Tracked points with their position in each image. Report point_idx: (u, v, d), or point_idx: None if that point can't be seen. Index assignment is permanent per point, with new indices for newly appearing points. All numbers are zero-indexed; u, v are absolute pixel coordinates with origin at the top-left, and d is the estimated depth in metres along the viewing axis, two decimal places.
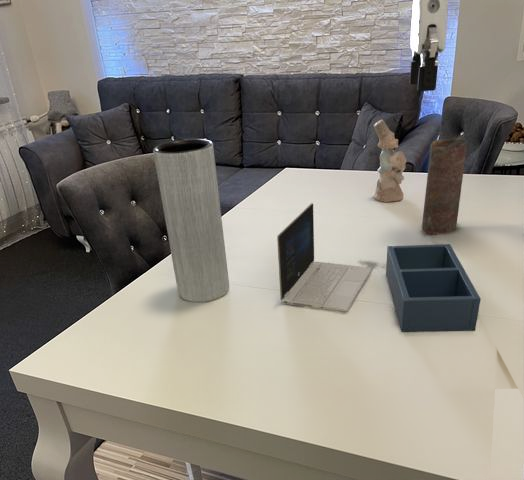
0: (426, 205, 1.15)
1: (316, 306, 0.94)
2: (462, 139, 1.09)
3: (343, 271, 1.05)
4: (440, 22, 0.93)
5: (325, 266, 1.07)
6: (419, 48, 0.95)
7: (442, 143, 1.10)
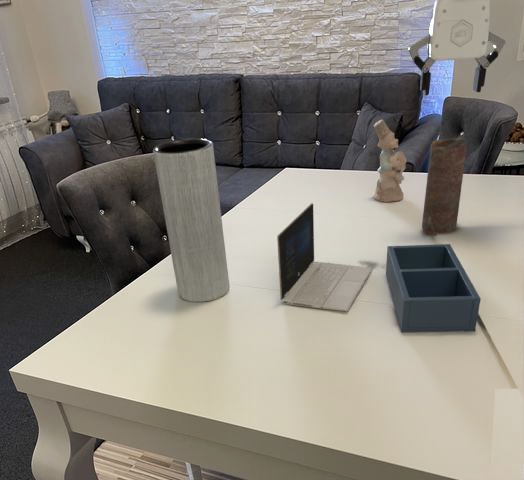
0: (426, 205, 1.15)
1: (316, 306, 0.94)
2: (462, 139, 1.09)
3: (343, 271, 1.05)
4: (431, 31, 0.97)
5: (325, 266, 1.07)
6: None
7: (442, 143, 1.10)
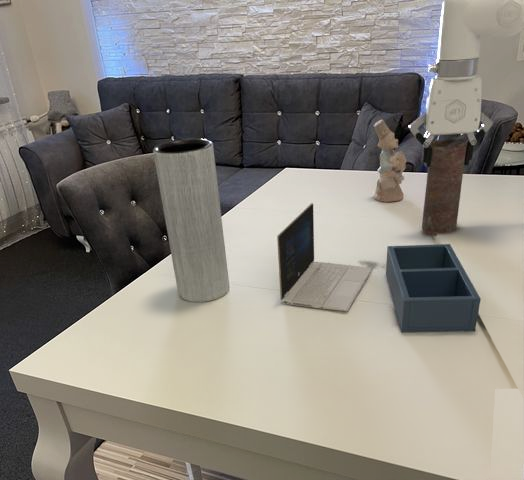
0: (426, 205, 1.15)
1: (316, 306, 0.94)
2: (462, 139, 1.09)
3: (343, 271, 1.05)
4: (427, 108, 1.05)
5: (325, 266, 1.07)
6: None
7: (442, 143, 1.10)
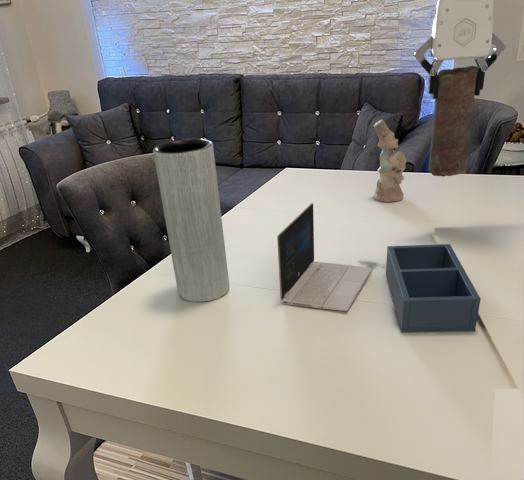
0: (433, 142, 1.07)
1: (316, 306, 0.94)
2: (472, 66, 1.00)
3: (343, 271, 1.05)
4: (434, 30, 0.96)
5: (325, 266, 1.07)
6: None
7: (450, 72, 1.01)
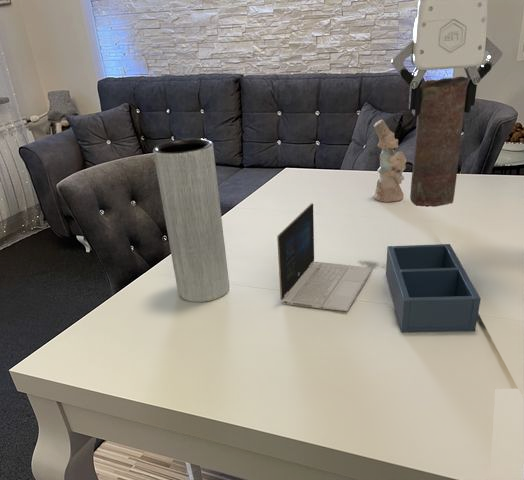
0: (415, 167, 0.89)
1: (316, 306, 0.94)
2: (461, 77, 0.83)
3: (343, 271, 1.05)
4: (415, 33, 0.79)
5: (325, 266, 1.07)
6: (412, 60, 0.83)
7: (435, 83, 0.84)
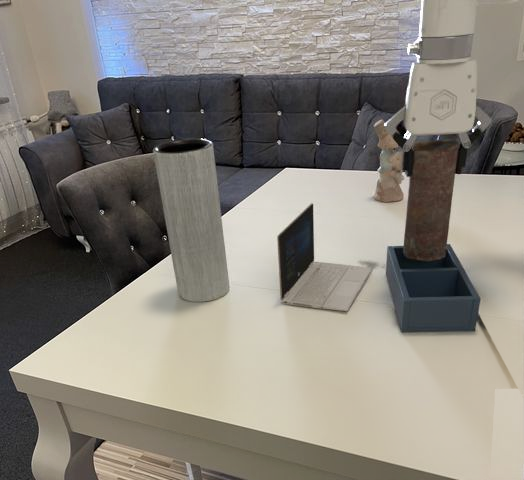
0: (408, 224, 0.91)
1: (316, 306, 0.94)
2: (452, 141, 0.85)
3: (343, 271, 1.05)
4: (407, 101, 0.81)
5: (325, 266, 1.07)
6: (405, 123, 0.86)
7: (427, 146, 0.86)
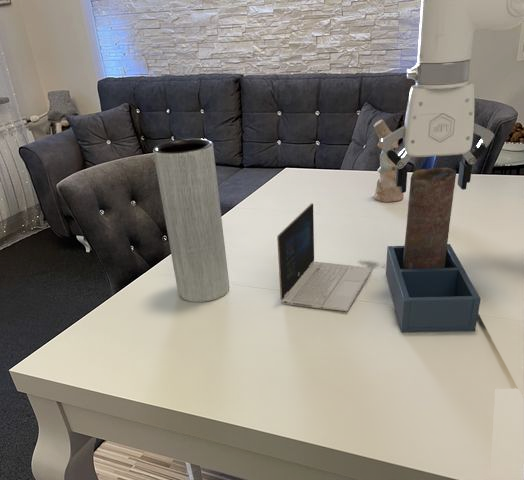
0: (406, 248, 0.94)
1: (316, 306, 0.94)
2: (450, 169, 0.88)
3: (343, 271, 1.05)
4: (406, 124, 0.83)
5: (325, 266, 1.07)
6: None
7: (425, 174, 0.89)
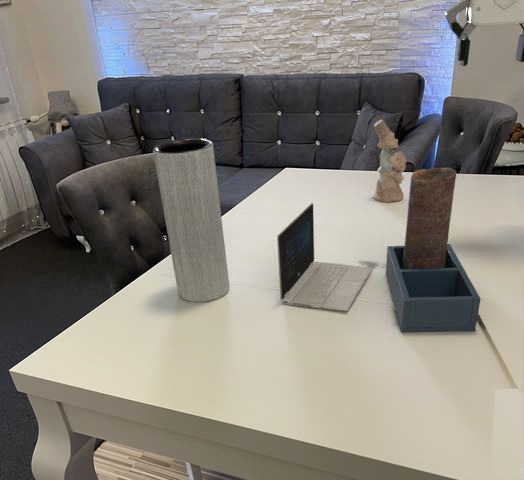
0: (406, 248, 0.94)
1: (316, 306, 0.94)
2: (450, 169, 0.88)
3: (343, 271, 1.05)
4: None
5: (325, 266, 1.07)
6: None
7: (425, 174, 0.89)
